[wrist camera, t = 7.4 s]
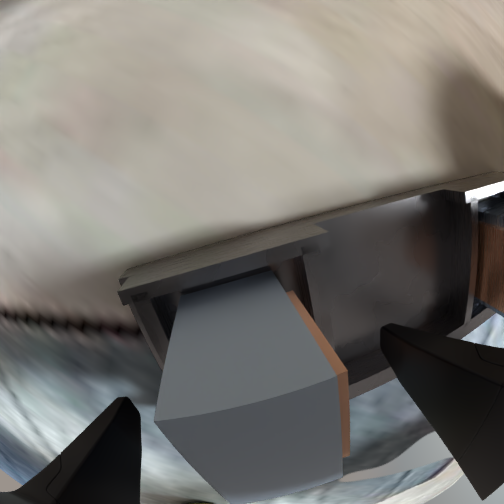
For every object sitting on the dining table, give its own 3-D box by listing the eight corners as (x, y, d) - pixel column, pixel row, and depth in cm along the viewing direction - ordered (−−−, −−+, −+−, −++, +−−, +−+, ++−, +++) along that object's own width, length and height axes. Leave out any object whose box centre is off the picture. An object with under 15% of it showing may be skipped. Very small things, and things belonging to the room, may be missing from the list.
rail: (493, 280, 14) (561, 317, 7) (192, 404, 13) (191, 522, 6) (494, 171, 12) (579, 185, 5) (127, 269, 11) (40, 381, 4)
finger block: (304, 366, 12) (354, 472, 6) (221, 390, 11) (232, 505, 6) (282, 266, 10) (357, 367, 4) (180, 295, 10) (153, 421, 4)
